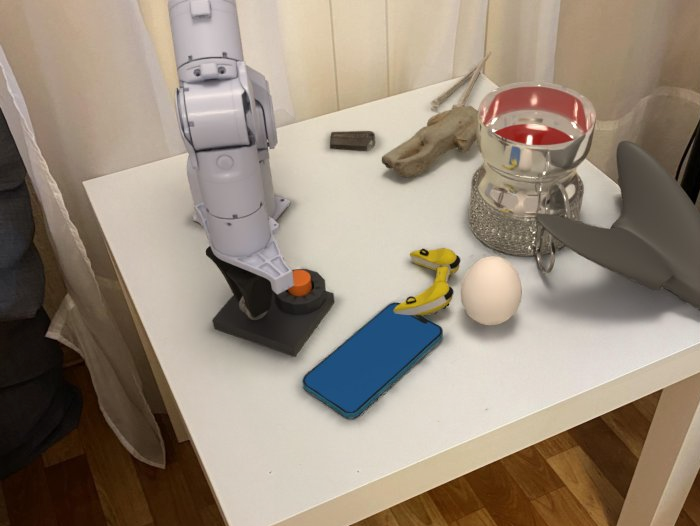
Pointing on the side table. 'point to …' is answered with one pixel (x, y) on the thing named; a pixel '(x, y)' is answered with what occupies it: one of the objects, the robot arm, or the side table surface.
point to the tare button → (300, 283)
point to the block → (352, 140)
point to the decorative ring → (245, 310)
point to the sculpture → (434, 141)
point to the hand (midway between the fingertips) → (254, 305)
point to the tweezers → (470, 85)
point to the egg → (491, 291)
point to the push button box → (279, 318)
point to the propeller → (642, 229)
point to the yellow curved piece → (440, 290)
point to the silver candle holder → (529, 165)
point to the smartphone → (371, 360)
